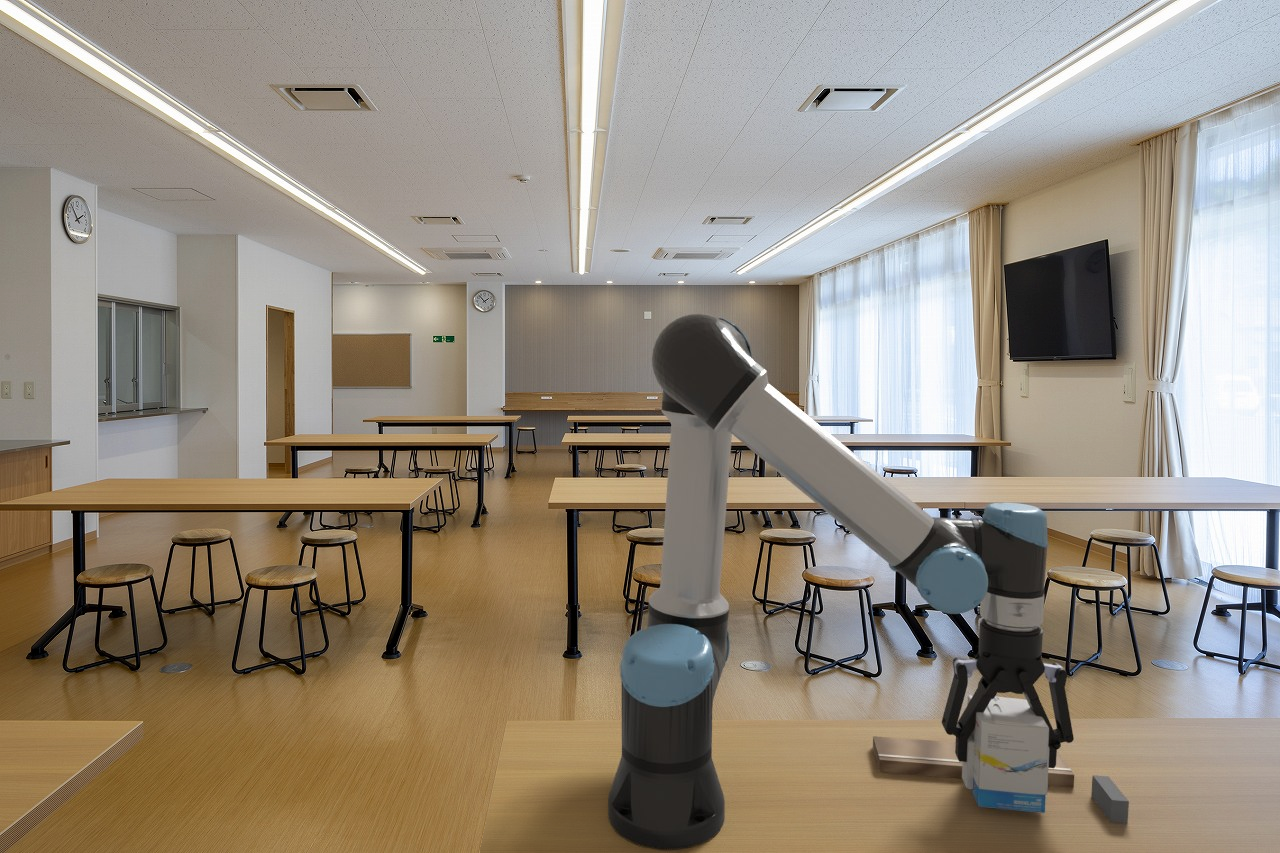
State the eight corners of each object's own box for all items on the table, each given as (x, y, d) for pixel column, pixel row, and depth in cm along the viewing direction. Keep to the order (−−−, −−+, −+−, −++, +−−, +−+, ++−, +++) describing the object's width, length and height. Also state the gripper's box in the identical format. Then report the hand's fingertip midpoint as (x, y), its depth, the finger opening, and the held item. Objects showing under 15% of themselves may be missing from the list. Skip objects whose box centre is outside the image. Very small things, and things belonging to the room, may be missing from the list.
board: (879, 771, 113) (879, 759, 113) (872, 747, 120) (873, 735, 120) (1073, 787, 109) (1074, 774, 109) (1055, 761, 116) (1055, 748, 116)
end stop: (1110, 822, 101) (1112, 800, 101) (1091, 796, 107) (1092, 775, 107) (1127, 823, 101) (1128, 801, 101) (1107, 797, 107) (1108, 776, 107)
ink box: (1047, 814, 101) (1051, 727, 100) (976, 807, 103) (980, 720, 101) (1028, 779, 109) (1032, 697, 108) (963, 772, 111) (966, 692, 110)
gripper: (932, 627, 102) (926, 795, 104) (1111, 636, 98) (1101, 809, 100) (920, 608, 109) (915, 765, 111) (1086, 616, 106) (1077, 777, 108)
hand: (1003, 786), depth 106 cm, fingers closed on ink box, 9 cm apart
